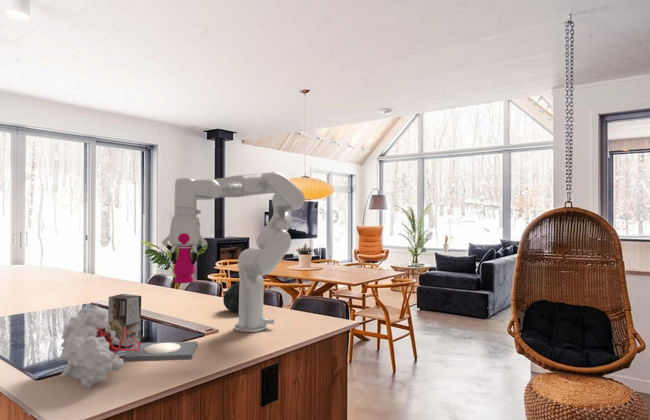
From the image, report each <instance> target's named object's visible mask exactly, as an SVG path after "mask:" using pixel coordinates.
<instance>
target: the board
mask: <svg viewBox="0 0 650 420" xmlns="http://www.w3.org/2000/svg"><path fill="white" fill-rule="evenodd" d="M133 345H134V347H135V348H136V349H138V348H139V345H138V343H135V344H133ZM133 345H131V348H130V349H135V348H134V347H133ZM197 347H198V340H197V341H196V340H195V341H164V342H163V341H162V342H161V341H160V342H140V349H139V350H138V351H127V352H126V353H125V354H124V355H123V358H122V359H123V362H125V361H129V362H130V361H151V360H152V361H154V360H155V361H156V360H158V361H159V360H180V359H181V360H183V359H193V357H194V354H195V351H196V349H197Z"/></svg>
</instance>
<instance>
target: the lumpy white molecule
mask: <svg viewBox="0 0 650 420" xmlns="http://www.w3.org/2000/svg"><path fill="white" fill-rule="evenodd" d="M102 312H103V311H102V310H101V309H99V306H98V305H97V304H96V305H93V306H92V307H87V306H83V307H81V309H80V310H79V311H78V313H77V315H78V316H77V315H75V316H71V317H70V318H69V322H68V324H65V325H64V327H63V329H64V330H63V331H62V337H61V338H62V340H63V342H62V343H61V345H60V346H61V347H62V349H61V355H60V358H61V359H62V360H63V361H65V362H67V366H66V367H65V369H64V371H63V372H62V373H61V377H63V378H64V377H67V376H71V377H73V378H74V379H75V380H76V379H78V380H80V385H81V386H83V387H84V386H86V387H87V388H88V389H90V388H92V387H93V385H95V384H96V383H98V382H104V381H106V380H107V373H108V372H109V373H110V372H111V371H114V372H118V371H119V370H121V369H123V367H124V364H125V363H124V362H125V361H123V358H122V357H120V356H119V353H118V352H119V351H127V352H128V351H138V350H139V349H140V343H142V342H141V340H140V341H139V343H138V342H137V341H136V340H135V338H134V337H133V338H134V340H135V341H136V342H137V343H138V345H139V348H138V349H136V348H135V347H134V344H132V343H131V341H130V340H129V342H130V343H131V344H132V345H131V346H133V347H134V348H135V349H131V348H129V346H126V345H125V344H124V345H125V346H126V348H121V347H122V346H121V344H122V341H123V337H124V334H125V333H124V329H125V327H123V328H122V332H123V333H122V339H121V343H120V345H117V346H118V347H116V346H114V344H112V343H113V342H115V343H119V340H118V339H117V338H116V337H115V333H116V332H115V331H114V330H110V328H111V326H110V325H109V323H108V322H107V321H106V319H107V318H108V314H106V313H102ZM125 330H126V329H125ZM126 331H127V330H126ZM127 332H128V331H127ZM128 333H129V332H128ZM129 334H131V333H129ZM125 336H126V334H125ZM126 337H127V336H126ZM123 343H124V341H123ZM125 346H124V347H125ZM115 350H116V351H115Z"/></svg>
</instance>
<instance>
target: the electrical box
mask: <svg viewBox="0 0 650 420" xmlns="http://www.w3.org/2000/svg"><path fill="white" fill-rule="evenodd" d="M107 307H108V309H107V310H108V312H107V323H109V325H110V326H111V328H110V330H114V331H115V332H116V333H115V337H116V338H117V339H118V340H119V343H115V342H113V343H112V345H115V346H119V345H120V343H121V339H122V333H123V332H122V328H123V327H125V329H126V330H127V331H128V332H129V333H131V334H129V333H128V332H127V331H126V330H125V329H124V333H125V334H126V336H127V337H126V336H125V334H124V337H123V341H124V343H123V341H122V344H121V347H126V346H127V347H130V346H133V345H134V344H135V343H137V342H138V343H139V341H141V328H142V327H141V325H142V324H141V323H142V321H141V318H142V295H136V294H127V293H120V294H117V295H116V294H115V295H111V296H108V306H107ZM133 337H134V338H135V340H136V341H137V342H136V341H135V340H134V338H133ZM129 340H130V341H131V343H132V344H133V345H132V344H131V343H130V342H129ZM124 344H125V345H126V346H125V345H124ZM127 347H126V348H127Z"/></svg>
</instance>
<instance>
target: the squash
mask: <svg viewBox="0 0 650 420" xmlns="http://www.w3.org/2000/svg"><path fill="white" fill-rule="evenodd" d="M239 287H240V281H236V282H234V284H232V285H231V286H229V288H227V290H226V291H225V293H224V295H223V305H224V307H225V309H227V310H228V311H230V313H233V314H235V313H237V314H239Z"/></svg>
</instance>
